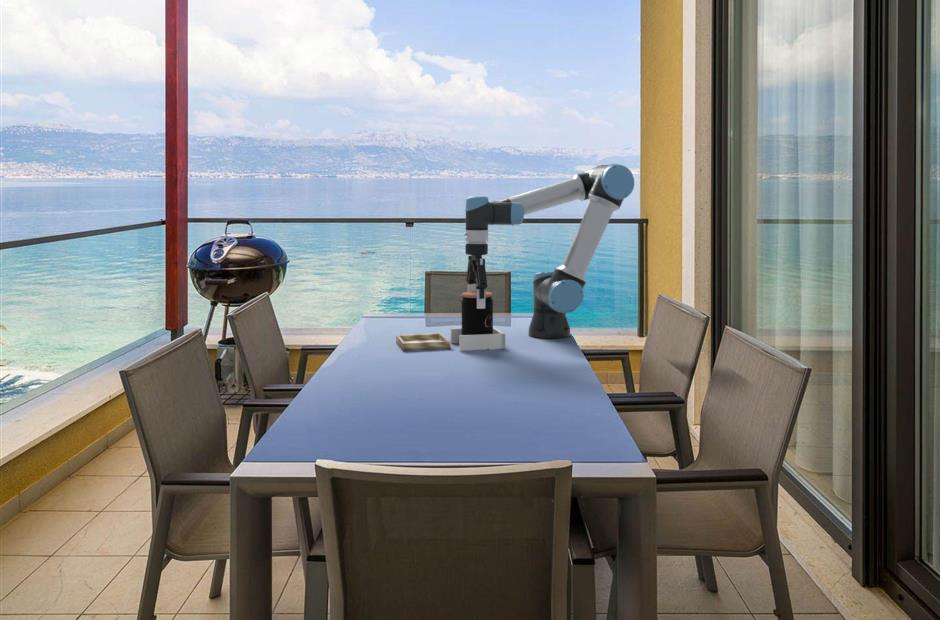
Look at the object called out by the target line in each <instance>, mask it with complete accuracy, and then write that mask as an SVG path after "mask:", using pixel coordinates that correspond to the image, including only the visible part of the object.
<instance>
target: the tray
mask: <svg viewBox="0 0 940 620" xmlns="http://www.w3.org/2000/svg"><path fill="white" fill-rule="evenodd" d="M395 343H396V344H397V345H398V347H399V349H401V350H402V352H411V351H413V352H414V351H430V350H431V351H432V350H449V349H450V350H451V340H449V338H448V337H446V336H445V335H444V334H443V333H441V332H440V333H423V334H422V333H421V334H419V333H418V334H397V335H395Z"/></svg>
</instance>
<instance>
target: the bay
mask: <svg viewBox="0 0 940 620" xmlns="http://www.w3.org/2000/svg"><path fill="white" fill-rule="evenodd" d="M450 344H459V346H458V347H459V351H460V352H463V351H464V352H465V351H482V350H485V351H486V350H487V349H489V350H503V349H504V350H505V349H506V333H504V332H503V331H501V330H500V329H498V328H497V327H495V326H493V334H479V335H462V327H455V328H454V327H453V328H452V327H451V328H450Z"/></svg>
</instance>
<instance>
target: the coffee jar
mask: <svg viewBox="0 0 940 620" xmlns="http://www.w3.org/2000/svg"><path fill="white" fill-rule="evenodd" d="M460 295H461V297H462V299H461V303H460V304H461V328H462V335H479V334H493V327H494V316H493V315H494V301H493V298H492V297H493V295H494V294H493V292H491V291H485V309H477V290H476V291H472V292H468V291H465V292H461V294H460Z"/></svg>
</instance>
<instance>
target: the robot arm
mask: <svg viewBox="0 0 940 620" xmlns="http://www.w3.org/2000/svg"><path fill="white" fill-rule="evenodd" d="M634 189H635V178H634V175H633V173H632V171H631V170H630V169H629V168H628V167H627V166H626V165H624V164H623V165H622V164H620V163H619V164H618V163H611V164H601V165H598V166H594V167H593V168H591V169H588V170H586V171H583V172H580V173H576V174H574V175H573V177H572V178H571V179H567V180H564V181H560V182H557V183H553V184H551V185H546V186H544V187H543V186H542V187H540V188H537V189H534V190H529V191H526V192H524V193H520V194H517V195H512V196H509V197H507V198H502V199H500V200H496V201H495V200H494V201H489V197H488V196H468V197H467V198H466V199H465V201H466V202H465V210H464V211H465V232H464V233H463V235H464V237H465V242H466V244H465V246H464V247H465V249H464V251H465V254H466V255H467V256H468V257H467V259H468V262H467V270H466V279H465V281H466V282H467V292H472V291H477V309H485V292H486V290H487V288H488V279H487V272H486V258H483V256H486V255H488V253H489V245H488V242H489V226H494V225H495V226H515V225H516V226H518V225H521V224H522V223H523V221H524V217H525V216H527V215H531V214H533V213H537V212H540V211H543V210H547V209H550V208H554V207H556V206H560V205H563V204H566V203H571V202H573V201H576V200H577V201H578V200H579V201H581V202H583V201H587V200H589V203H588V206H587V207H586V210H585V213H584V215H583V217H582V219H581V221H580V223H579V225H578V228H577V230H576V232H575V235H574V237H573V239H572V241H571V244H570V246H569V248H568V250H567V253H566V255H565V257H564V259H563V262H562V263H561V265H560V266H556V267H554V270H553V271H545V272H544V271H543V272H542V271H541V272H535V273H534V274H533V281H532V284H533V297H532V298H533V302H532V303H533V308H532V309H533V315H532V317H531V320H530V323H529V327H528V336H529V337H533V338H538V339H539V338H540V339H563V338H567V337H570V336H571V327H570V323H569V320H568V318H567V315H566V314H569V313H572V312H574V311H576V310H577V309H579V307H580V306H581V305H582V303H583V301H584V294H585V293H584V288H585V286H586V284H587V279H586V276H585V275H586V272H587V270H588V269H589V266H590V263H591V262H592V260H593V258H594V254H595V253H596V250H597V248H598V246H599V244H600V242H601V240H602V237H603V235H604V233H605V230H606V229H607V226H608V224H609V221H610V220H611V217H612V215H613V213H614V212H615V211H618V210H620V208H621V206H622V204H623V202H624V199H627V198H628V197H629V196H630V195H631V194H632V193H633V191H634ZM476 285H477V286H476Z"/></svg>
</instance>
